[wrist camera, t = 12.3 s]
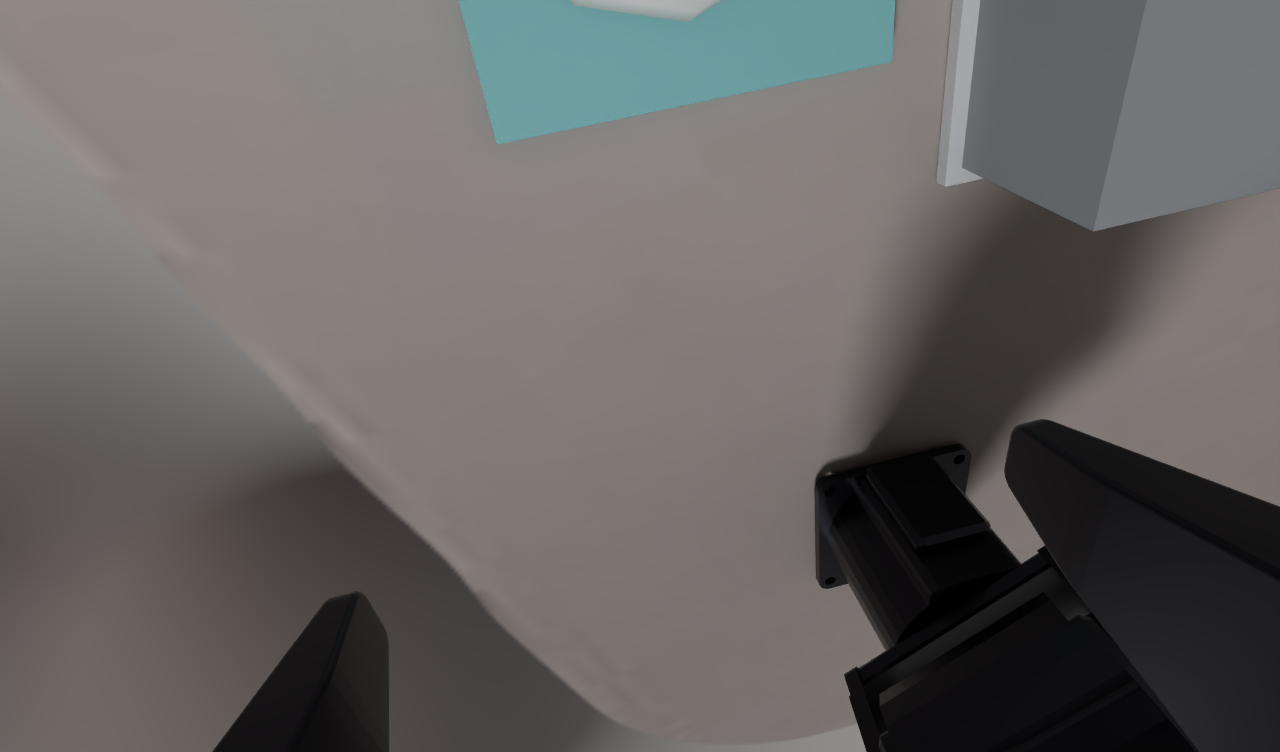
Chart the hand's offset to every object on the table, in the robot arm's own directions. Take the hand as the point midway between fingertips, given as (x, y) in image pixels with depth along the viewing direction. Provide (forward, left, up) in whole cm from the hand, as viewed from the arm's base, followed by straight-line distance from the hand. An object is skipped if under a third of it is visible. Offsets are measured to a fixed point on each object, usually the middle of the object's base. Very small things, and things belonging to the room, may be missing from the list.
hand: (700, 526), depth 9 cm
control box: (+1, -14, -13) cm, 19 cm away
